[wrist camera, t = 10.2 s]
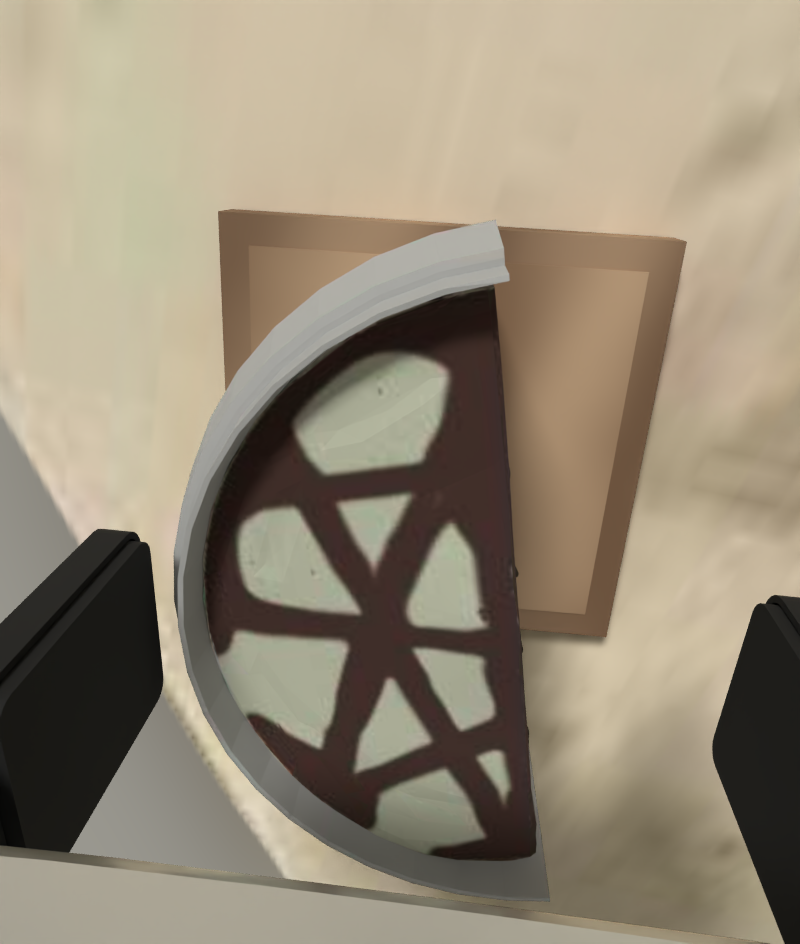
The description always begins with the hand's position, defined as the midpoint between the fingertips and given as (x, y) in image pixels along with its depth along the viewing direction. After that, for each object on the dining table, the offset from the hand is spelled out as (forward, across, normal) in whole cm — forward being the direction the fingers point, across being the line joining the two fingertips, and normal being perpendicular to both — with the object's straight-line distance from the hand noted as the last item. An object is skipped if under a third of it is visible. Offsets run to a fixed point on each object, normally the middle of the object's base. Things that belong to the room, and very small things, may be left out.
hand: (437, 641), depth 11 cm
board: (+11, +1, +1) cm, 11 cm away
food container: (+10, +2, +1) cm, 10 cm away
